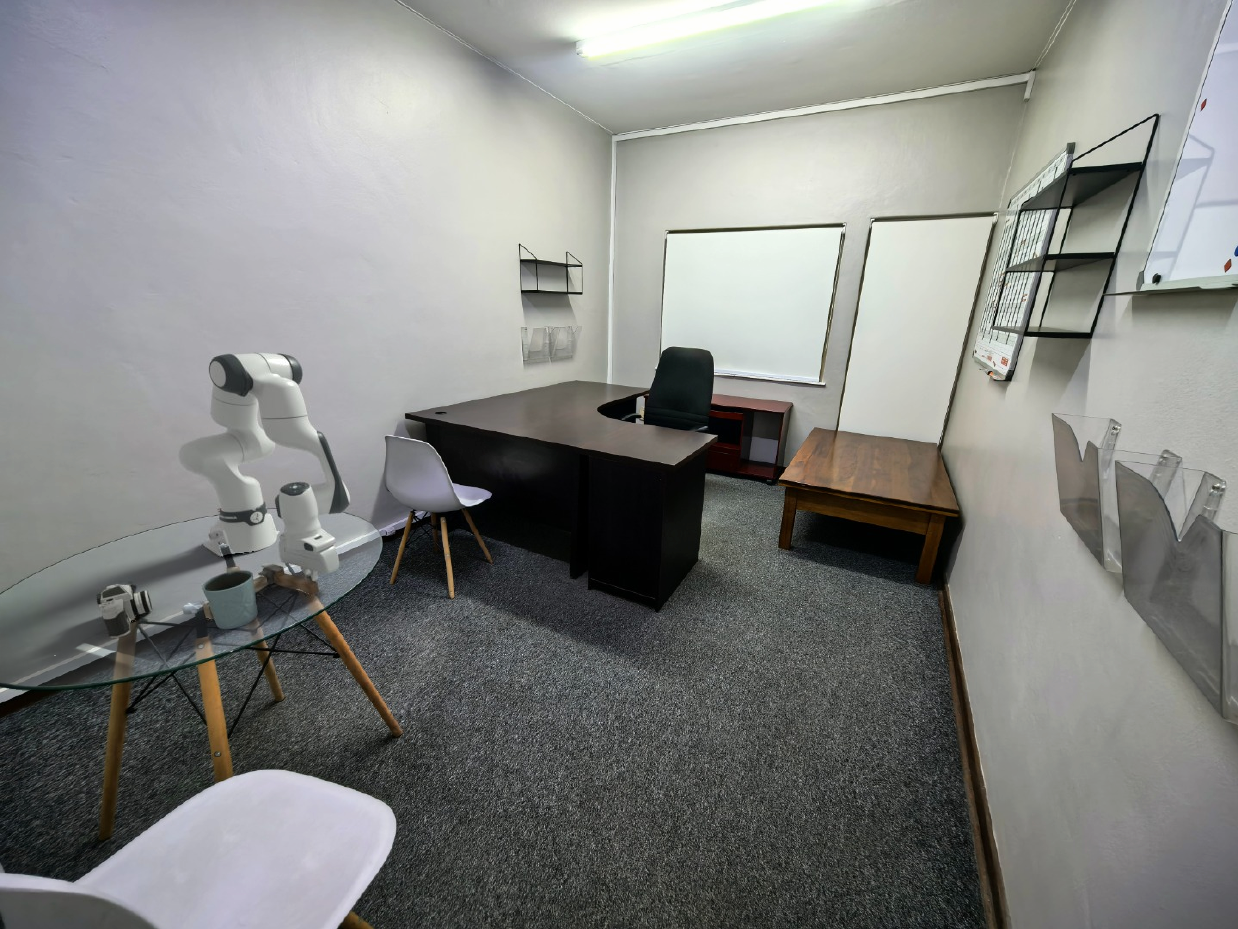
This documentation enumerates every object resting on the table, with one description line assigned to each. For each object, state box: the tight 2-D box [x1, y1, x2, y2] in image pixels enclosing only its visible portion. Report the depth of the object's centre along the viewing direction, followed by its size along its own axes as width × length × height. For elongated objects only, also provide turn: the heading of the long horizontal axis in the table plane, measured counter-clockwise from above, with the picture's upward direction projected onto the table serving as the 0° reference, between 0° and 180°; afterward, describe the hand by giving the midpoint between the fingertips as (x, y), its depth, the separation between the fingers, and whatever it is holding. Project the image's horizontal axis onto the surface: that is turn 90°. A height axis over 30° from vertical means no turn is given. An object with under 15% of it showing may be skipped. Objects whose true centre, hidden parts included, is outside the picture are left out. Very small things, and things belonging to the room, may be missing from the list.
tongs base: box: [202, 567, 275, 620], centre depth 129 cm, size 20×4×6 cm, turn 166°
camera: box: [96, 584, 153, 639], centre depth 118 cm, size 16×9×10 cm, turn 47°
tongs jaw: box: [261, 562, 320, 597], centre depth 134 cm, size 20×2×6 cm, turn 70°
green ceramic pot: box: [201, 569, 259, 630], centre depth 119 cm, size 10×10×12 cm
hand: (312, 579), depth 136 cm, fingers closed
